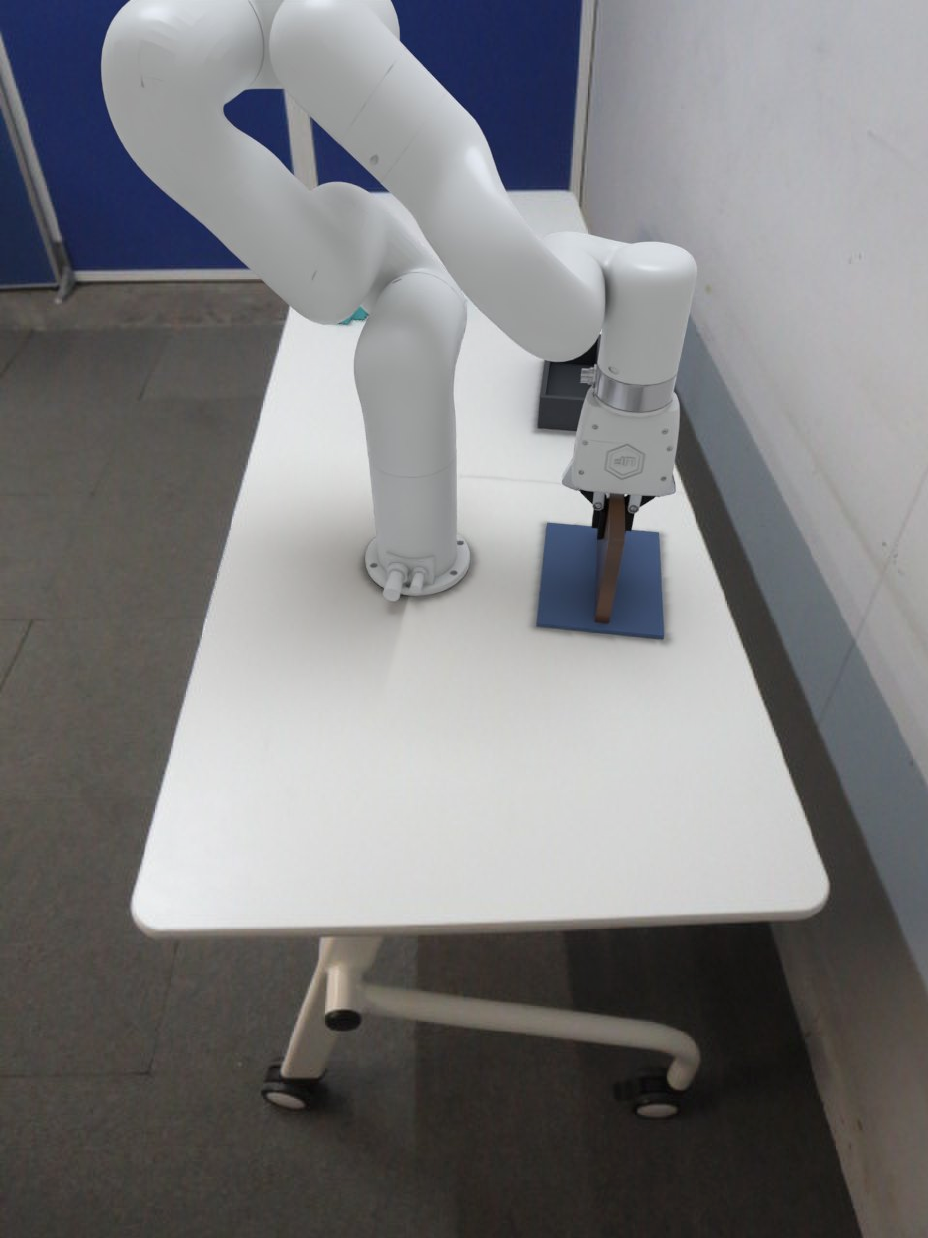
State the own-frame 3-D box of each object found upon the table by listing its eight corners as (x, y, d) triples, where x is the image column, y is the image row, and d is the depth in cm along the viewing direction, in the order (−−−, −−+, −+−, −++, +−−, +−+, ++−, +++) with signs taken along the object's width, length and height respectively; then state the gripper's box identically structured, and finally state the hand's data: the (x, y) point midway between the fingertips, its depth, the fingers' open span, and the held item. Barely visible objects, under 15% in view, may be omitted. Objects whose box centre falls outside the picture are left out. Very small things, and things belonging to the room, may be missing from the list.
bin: (596, 435, 116) (600, 401, 112) (537, 431, 117) (539, 397, 113) (598, 366, 131) (603, 334, 127) (546, 363, 132) (548, 330, 128)
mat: (663, 639, 88) (664, 635, 88) (536, 626, 89) (536, 623, 89) (658, 535, 101) (659, 531, 100) (546, 525, 102) (547, 522, 101)
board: (609, 623, 89) (624, 540, 80) (594, 622, 89) (608, 538, 80) (610, 532, 100) (624, 450, 91) (597, 531, 100) (610, 449, 92)
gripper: (550, 398, 75) (537, 548, 88) (721, 409, 73) (683, 561, 87) (554, 359, 80) (542, 507, 93) (715, 369, 79) (679, 518, 92)
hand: (610, 532), depth 90 cm, fingers closed on board
